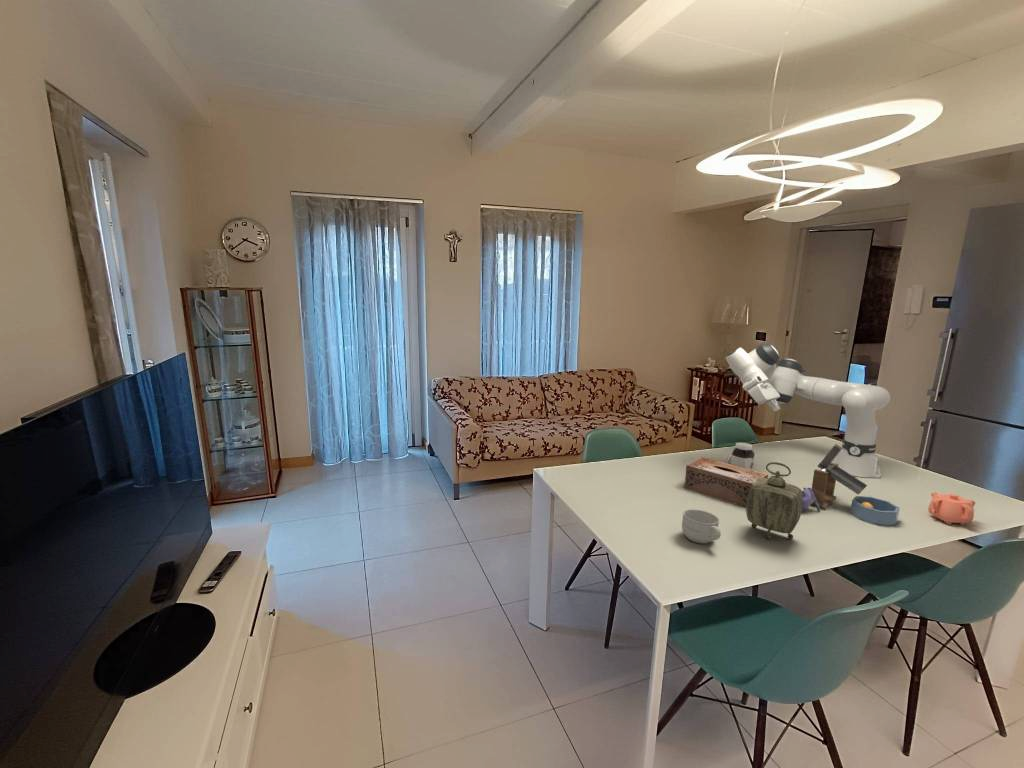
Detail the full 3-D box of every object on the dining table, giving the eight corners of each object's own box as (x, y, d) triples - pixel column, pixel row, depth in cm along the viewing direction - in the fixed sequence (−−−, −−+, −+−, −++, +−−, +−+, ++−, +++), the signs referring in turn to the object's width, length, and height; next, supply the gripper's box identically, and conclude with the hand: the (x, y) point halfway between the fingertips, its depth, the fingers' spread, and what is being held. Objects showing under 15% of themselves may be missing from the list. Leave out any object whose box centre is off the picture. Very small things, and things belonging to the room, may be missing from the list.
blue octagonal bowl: (856, 505, 173) (858, 493, 172) (899, 518, 163) (902, 504, 162) (846, 515, 164) (849, 502, 163) (892, 529, 155) (894, 515, 154)
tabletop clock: (797, 539, 148) (808, 465, 143) (791, 550, 141) (802, 473, 136) (749, 524, 157) (757, 454, 153) (741, 533, 151) (749, 461, 146)
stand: (818, 494, 182) (823, 460, 180) (836, 499, 178) (841, 464, 175) (806, 504, 173) (811, 469, 170) (824, 510, 168) (830, 474, 166)
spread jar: (744, 474, 202) (746, 449, 200) (719, 466, 211) (722, 442, 209) (757, 468, 209) (760, 444, 207) (733, 461, 218) (736, 438, 216)
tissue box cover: (684, 488, 187) (686, 465, 185) (700, 479, 197) (702, 456, 195) (751, 509, 169) (754, 484, 167) (765, 498, 178) (768, 474, 176)
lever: (821, 463, 178) (838, 441, 173) (862, 490, 169) (882, 468, 164) (813, 469, 172) (831, 447, 167) (855, 497, 163) (876, 475, 158)
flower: (824, 491, 169) (800, 478, 169) (830, 509, 163) (805, 496, 163) (805, 504, 175) (782, 492, 175) (810, 522, 168) (786, 509, 168)
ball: (876, 511, 165) (862, 511, 168) (872, 500, 165) (859, 501, 168) (873, 515, 162) (859, 515, 165) (869, 503, 162) (856, 504, 165)
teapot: (928, 509, 170) (933, 485, 169) (973, 521, 161) (978, 495, 160) (922, 518, 163) (927, 493, 161) (969, 532, 154) (974, 504, 152)
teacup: (675, 530, 152) (677, 508, 150) (706, 529, 153) (708, 507, 151) (695, 553, 138) (697, 529, 137) (729, 552, 139) (732, 528, 138)
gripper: (757, 385, 198) (778, 412, 193) (741, 387, 184) (763, 417, 178) (770, 376, 195) (792, 403, 189) (755, 378, 180) (778, 408, 175)
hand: (778, 410), depth 184 cm, fingers closed
